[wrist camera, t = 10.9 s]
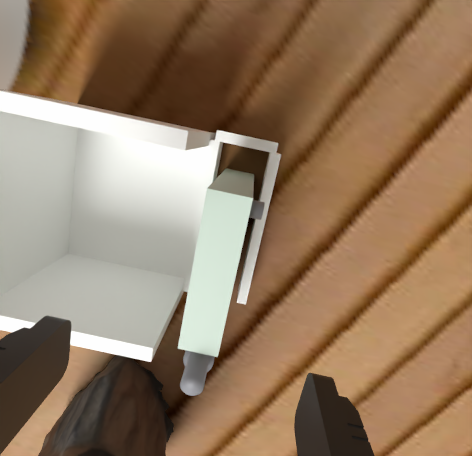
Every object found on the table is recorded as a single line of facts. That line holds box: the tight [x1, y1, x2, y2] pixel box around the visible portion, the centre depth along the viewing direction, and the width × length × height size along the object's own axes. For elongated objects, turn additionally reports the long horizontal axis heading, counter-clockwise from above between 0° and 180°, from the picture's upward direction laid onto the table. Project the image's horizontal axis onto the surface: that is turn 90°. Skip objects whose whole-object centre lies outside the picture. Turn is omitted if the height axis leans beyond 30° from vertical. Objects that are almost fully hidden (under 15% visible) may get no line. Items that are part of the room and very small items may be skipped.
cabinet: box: [0, 89, 281, 396], centre depth 25 cm, size 18×16×13 cm
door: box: [178, 168, 265, 357], centre depth 25 cm, size 3×10×12 cm, turn 168°
